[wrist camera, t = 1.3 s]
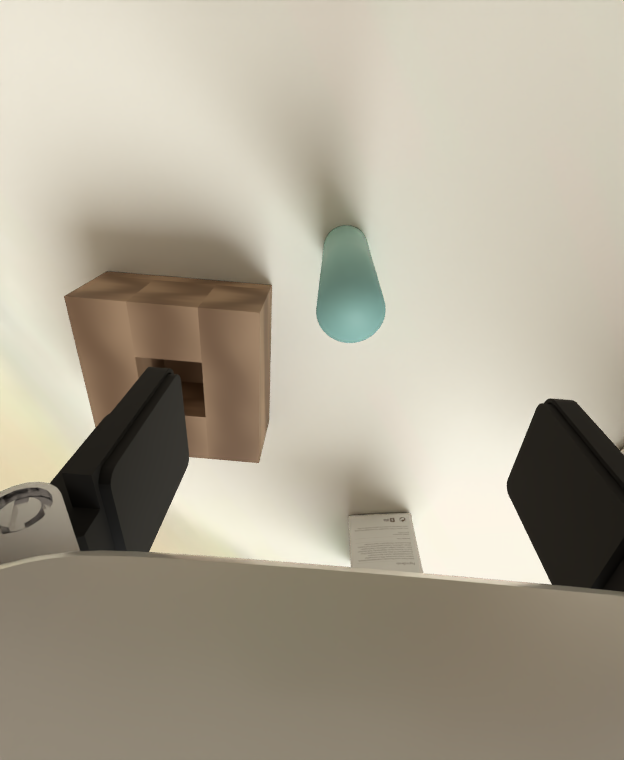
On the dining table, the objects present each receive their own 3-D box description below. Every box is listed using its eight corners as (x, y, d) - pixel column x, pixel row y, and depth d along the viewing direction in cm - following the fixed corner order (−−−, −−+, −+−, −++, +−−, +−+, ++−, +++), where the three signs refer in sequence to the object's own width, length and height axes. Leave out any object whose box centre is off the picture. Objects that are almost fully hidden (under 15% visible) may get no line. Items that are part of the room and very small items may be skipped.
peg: (370, 227, 28) (390, 280, 17) (364, 271, 29) (379, 345, 19) (325, 223, 28) (318, 274, 17) (322, 268, 29) (313, 339, 19)
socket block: (271, 285, 30) (259, 312, 25) (269, 420, 36) (258, 462, 31) (107, 271, 30) (64, 296, 25) (131, 408, 36) (100, 449, 32)
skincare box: (347, 512, 41) (353, 693, 28) (415, 510, 41) (454, 693, 27) (352, 566, 46) (359, 746, 32) (414, 565, 45) (447, 748, 31)
